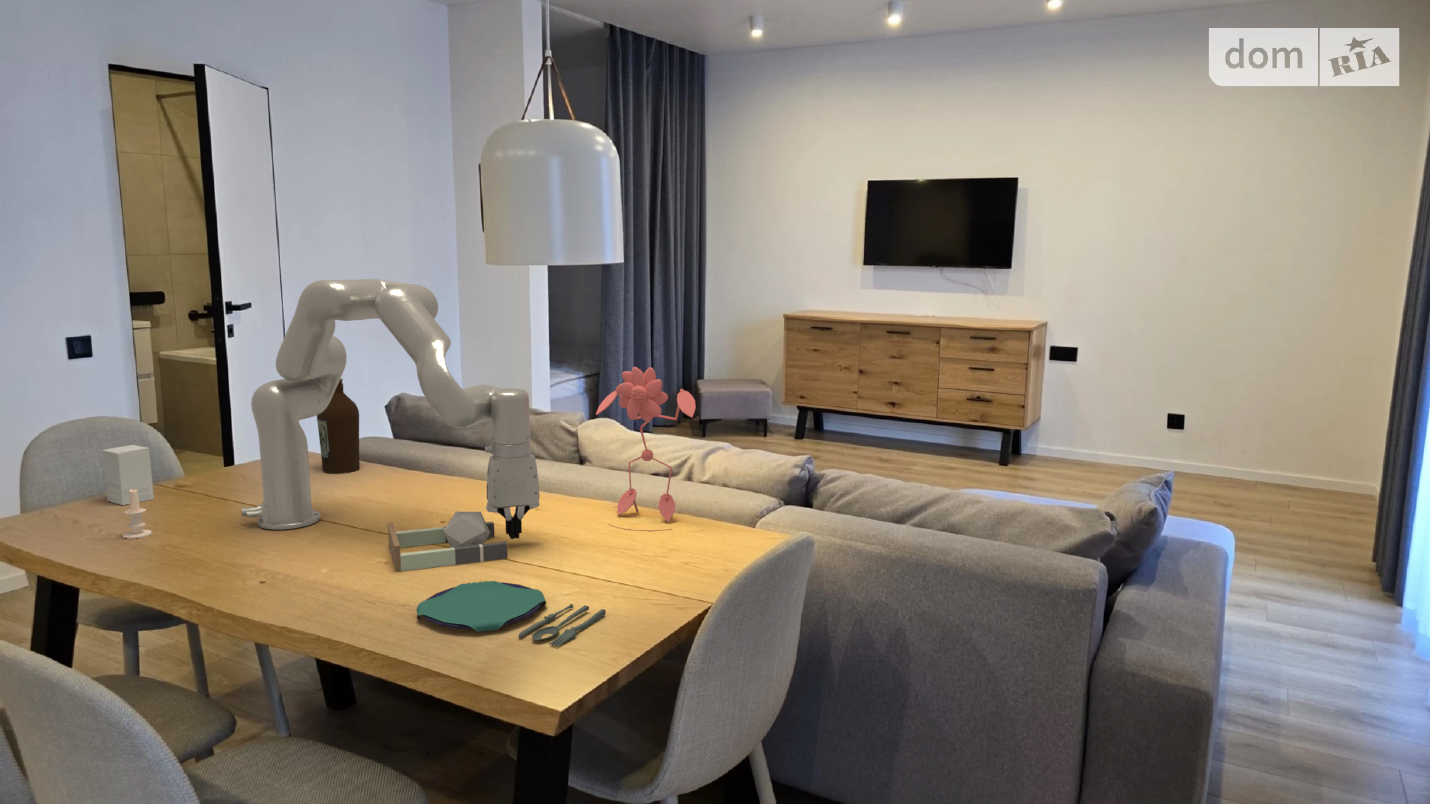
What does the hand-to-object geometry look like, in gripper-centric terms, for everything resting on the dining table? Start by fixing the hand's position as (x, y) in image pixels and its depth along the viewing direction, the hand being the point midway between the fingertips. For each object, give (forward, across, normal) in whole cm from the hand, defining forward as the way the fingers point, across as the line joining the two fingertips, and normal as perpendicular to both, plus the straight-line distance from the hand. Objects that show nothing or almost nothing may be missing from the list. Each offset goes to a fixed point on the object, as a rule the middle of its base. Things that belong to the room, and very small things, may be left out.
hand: (513, 536), depth 191 cm
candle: (+2, -72, +35) cm, 80 cm away
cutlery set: (+2, -9, -37) cm, 38 cm away
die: (+2, -9, 0) cm, 9 cm away
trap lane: (+2, -13, 0) cm, 13 cm away
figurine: (+2, +29, +6) cm, 30 cm away
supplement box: (+2, -78, +67) cm, 103 cm away
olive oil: (+2, -31, +82) cm, 88 cm away
